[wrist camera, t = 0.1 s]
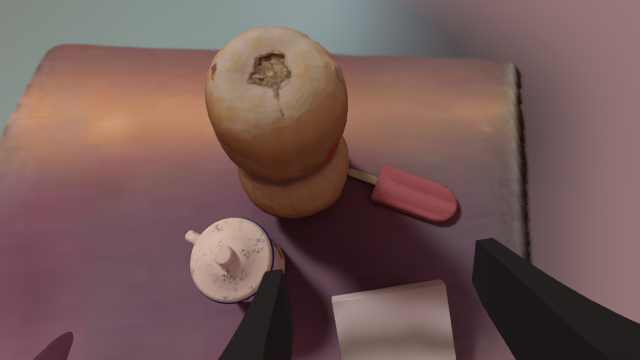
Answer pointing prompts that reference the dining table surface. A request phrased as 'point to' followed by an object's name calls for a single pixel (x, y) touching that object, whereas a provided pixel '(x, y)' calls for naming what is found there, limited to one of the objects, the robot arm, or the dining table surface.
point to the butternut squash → (281, 119)
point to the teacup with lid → (232, 259)
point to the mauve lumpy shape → (57, 348)
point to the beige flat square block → (395, 323)
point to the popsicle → (410, 194)
